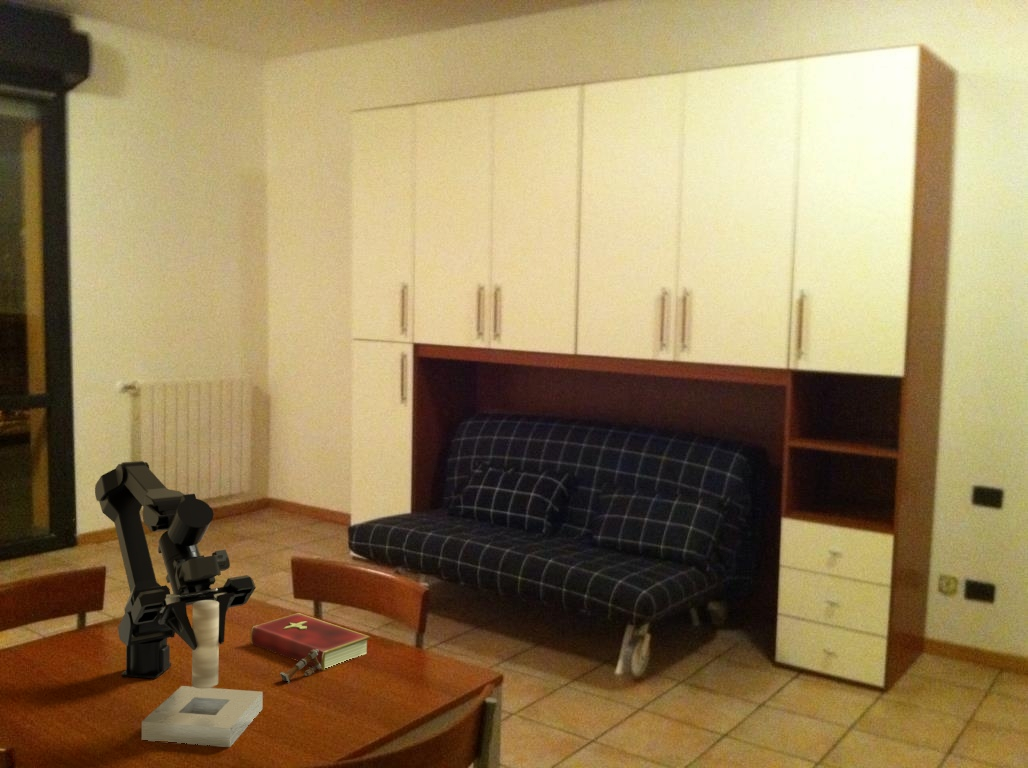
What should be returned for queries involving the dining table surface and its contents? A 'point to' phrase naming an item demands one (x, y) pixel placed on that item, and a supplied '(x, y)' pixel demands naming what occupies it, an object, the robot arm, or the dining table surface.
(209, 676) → the ball
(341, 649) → the hardcover book
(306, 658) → the wooden post with brackets
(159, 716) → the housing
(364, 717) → the dining table surface
